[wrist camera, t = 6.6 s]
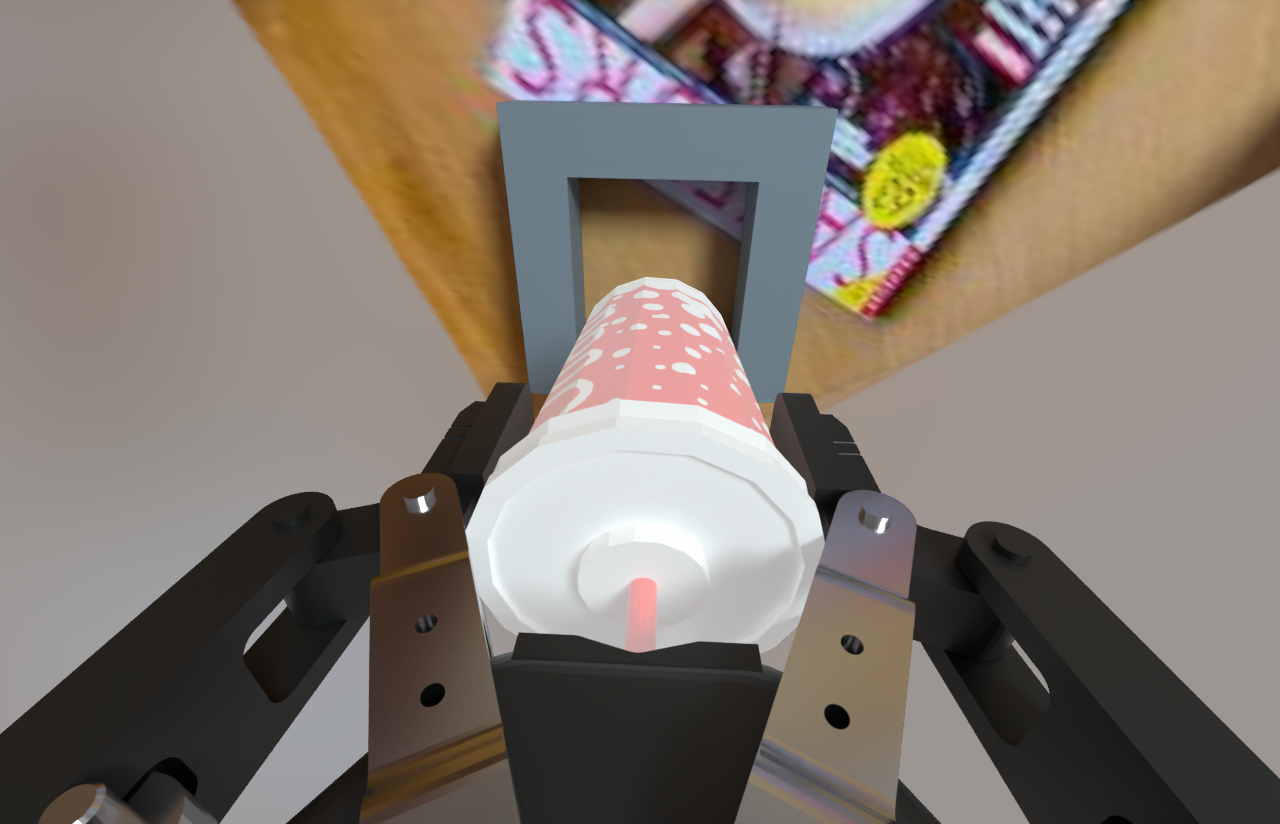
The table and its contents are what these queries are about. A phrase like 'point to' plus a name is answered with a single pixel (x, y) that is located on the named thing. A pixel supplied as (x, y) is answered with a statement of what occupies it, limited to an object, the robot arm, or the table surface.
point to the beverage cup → (648, 492)
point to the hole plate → (668, 150)
